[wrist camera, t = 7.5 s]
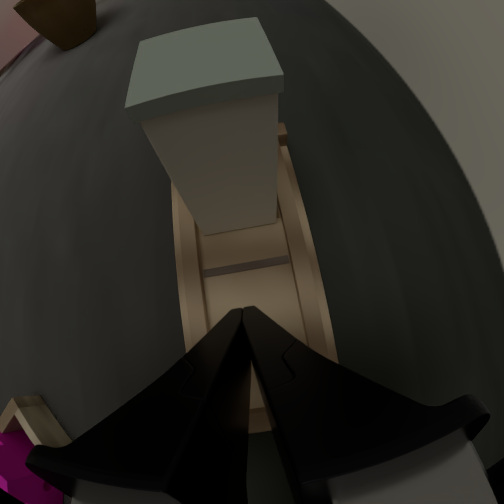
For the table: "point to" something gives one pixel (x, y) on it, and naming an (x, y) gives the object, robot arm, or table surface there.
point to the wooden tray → (254, 275)
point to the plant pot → (60, 20)
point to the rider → (213, 119)
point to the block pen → (33, 421)
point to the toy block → (23, 472)
